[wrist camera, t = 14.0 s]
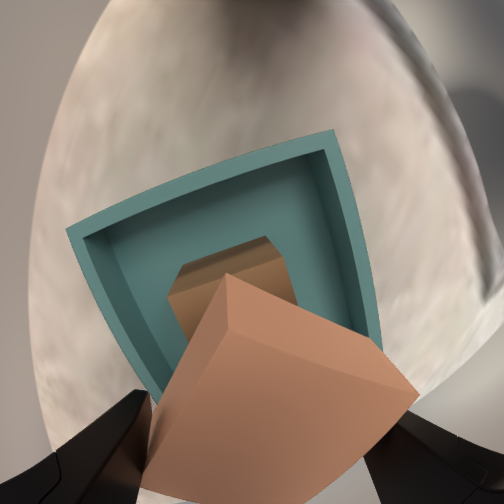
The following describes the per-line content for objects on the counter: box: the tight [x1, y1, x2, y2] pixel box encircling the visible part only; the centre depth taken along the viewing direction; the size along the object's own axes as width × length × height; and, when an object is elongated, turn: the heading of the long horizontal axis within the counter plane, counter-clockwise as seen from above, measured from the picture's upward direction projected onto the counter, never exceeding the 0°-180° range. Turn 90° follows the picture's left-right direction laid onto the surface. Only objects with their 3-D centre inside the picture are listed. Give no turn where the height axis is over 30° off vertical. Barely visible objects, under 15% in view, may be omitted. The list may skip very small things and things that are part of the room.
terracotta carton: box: [140, 273, 420, 504], centre depth 7 cm, size 6×5×3 cm
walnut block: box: [167, 235, 298, 342], centre depth 15 cm, size 5×5×5 cm
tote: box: [66, 129, 383, 405], centre depth 16 cm, size 14×14×4 cm
